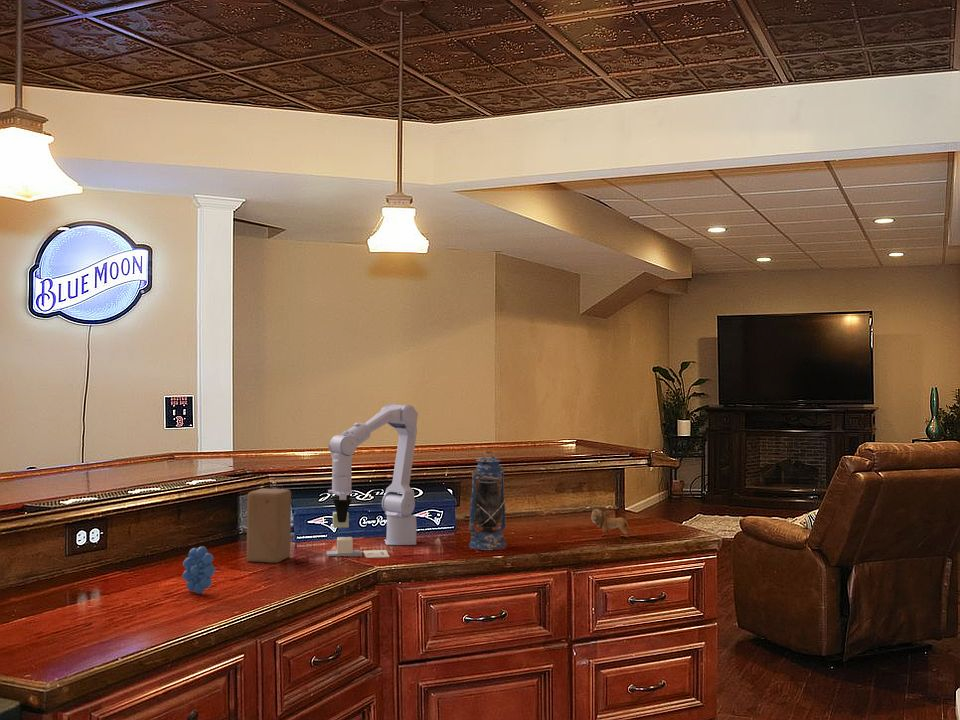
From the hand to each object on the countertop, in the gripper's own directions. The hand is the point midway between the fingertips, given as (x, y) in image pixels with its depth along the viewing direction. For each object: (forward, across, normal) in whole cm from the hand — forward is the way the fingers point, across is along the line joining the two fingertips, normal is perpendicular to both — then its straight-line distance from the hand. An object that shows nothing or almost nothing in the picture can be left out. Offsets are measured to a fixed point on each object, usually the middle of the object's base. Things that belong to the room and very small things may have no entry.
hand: (341, 520), depth 299 cm
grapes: (+10, +45, -37) cm, 59 cm away
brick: (+9, +2, +1) cm, 9 cm away
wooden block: (+10, +6, -21) cm, 24 cm away
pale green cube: (+2, 0, 0) cm, 2 cm away
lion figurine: (+10, -17, +90) cm, 93 cm away
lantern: (+10, -5, +46) cm, 47 cm away
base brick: (+11, +2, +1) cm, 11 cm away
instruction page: (+10, +2, +10) cm, 14 cm away
